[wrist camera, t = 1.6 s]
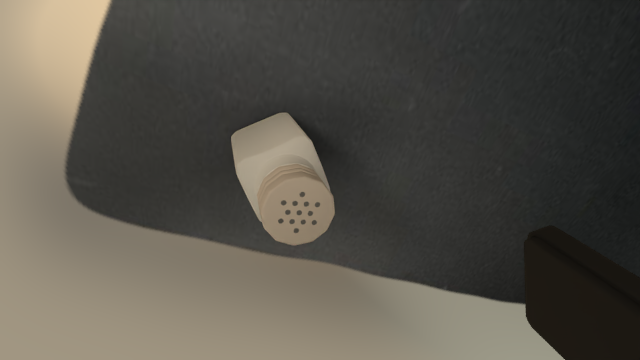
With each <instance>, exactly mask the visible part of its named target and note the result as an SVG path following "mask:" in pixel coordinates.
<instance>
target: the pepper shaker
mask: <svg viewBox="0 0 640 360" xmlns="http://www.w3.org/2000/svg"><path fill="white" fill-rule="evenodd" d="M231 144H232V150H233V157H234V163H235V169H236V174H237V177H238V179H239V181H240V183H241V185H242V187H243V189H244V191H245V194H246V196H247V198H248V200H249V202H250V204H251V206H252V208H253V210H254V211H255V213H256V215H257V217H258V219H259V221H261V222H262V223H263V227H264V229H265V230H266V231H267V232H268V233H269V234H270V235H271V236H272V237H273V238H274V239H275V240H276V241H279V242H283V243H286V244H290V245H293V246H294V245H299V244H304V243H309V242H312V241H314V240H315V239H316V238H318V237H319V236H320V235H322V234H323V233H324V232H325V231H327V229H328V227H329V225H330V223H331V221H332V219H333V217H334V215H335V209H334V197H333V195H332V194H331V192H330V187H329V184H328V181H327V178H326V176H325V173H324V170H323V168H322V165H321V162H320V160H319V157H318V155H317V152H316V150H315V148H314V145H313V143H312V141H311V140H310V138H309V137H308V136H307V135H306V134H305V132H304V131H303V130H302V129H301V128H300V126H299V125H298V124H297V123H296V122H295V120H294V119H293V118H292V117H291V116H290V115H289V114H288V113H278V114H275V115H273V116H271V117H268V118H266V119H264V120H261V121H259V122H256V123H254V124H252V125H249V126H247V127H244V128H242V129H240V130H237V131H236V132H235V133H234V134H233V135H232V136H231Z"/></svg>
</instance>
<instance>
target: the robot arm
mask: <svg viewBox="0 0 640 360" xmlns="http://www.w3.org/2000/svg"><path fill="white" fill-rule="evenodd" d="M524 262H525V301H526V317H527V320H528V322H529V324H530V325H531V327H532V328H533V329H534V330H535V331H536V332H537V333H538V334H539V335H540V336H541V337H542V338H543V339H545V341H547V343H549V344H550V345H551V346H552V347H553V348H554V349H555V350H556V351H557V352H558V353H559V354H560V355H561V356H562V357H563V358H564V359H565V360H640V278H639V277H638V276H636V275H634V274H633V273H631V272H629V271H628V270H626V269H624V268H623V267H621V266H619V265H618V264H616V263H614V262H613V261H611V260H609V259H608V258H606V257H604V256H603V255H601V254H600V253H598V252H596V251H595V250H593V249H591V248H590V247H588V246H586V245H585V244H583V243H581V242H580V241H578V240H576V239H575V238H573V237H571V236H570V235H568V234H566V233H565V232H563V231H561V230H560V229H558V228H557V227H554V226H547V227H544V228H541V229H538V230H536V231H533V232H531V233H529V235H528V239H527V240H525V242H524Z"/></svg>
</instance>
